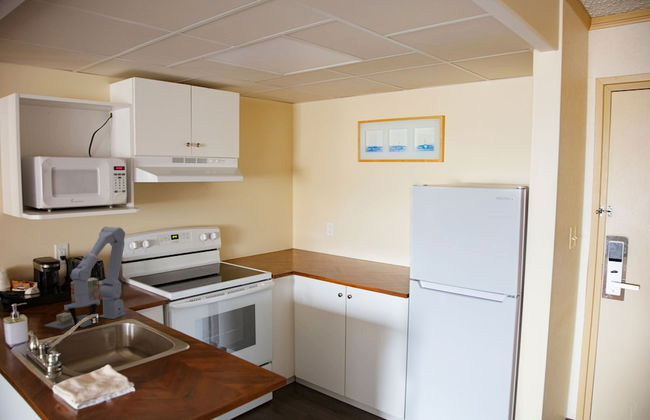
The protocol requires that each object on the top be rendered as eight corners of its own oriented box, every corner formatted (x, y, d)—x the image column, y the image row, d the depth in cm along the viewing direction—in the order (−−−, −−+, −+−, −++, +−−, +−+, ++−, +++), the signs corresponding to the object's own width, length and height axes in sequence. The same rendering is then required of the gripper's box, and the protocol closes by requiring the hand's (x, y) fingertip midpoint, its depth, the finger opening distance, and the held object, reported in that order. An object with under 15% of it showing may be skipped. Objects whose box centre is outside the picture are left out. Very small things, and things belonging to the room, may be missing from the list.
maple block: (72, 321, 219) (71, 313, 219) (63, 324, 215) (63, 316, 215) (65, 320, 221) (65, 312, 221) (56, 323, 217) (56, 315, 216)
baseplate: (85, 321, 221) (85, 320, 221) (62, 329, 210) (62, 328, 210) (67, 318, 226) (67, 317, 226) (44, 326, 215) (44, 325, 215)
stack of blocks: (109, 295, 267) (108, 274, 265) (115, 296, 263) (114, 275, 262) (71, 304, 249) (70, 281, 248) (77, 306, 246) (75, 283, 245)
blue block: (91, 324, 216) (90, 315, 216) (83, 327, 212) (82, 318, 212) (84, 322, 218) (83, 314, 217) (76, 326, 214) (75, 317, 213)
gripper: (96, 288, 221) (98, 316, 222) (62, 294, 212) (64, 323, 213) (100, 292, 215) (102, 320, 217) (64, 297, 206) (67, 327, 208)
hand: (83, 322), depth 215 cm, fingers closed on blue block, 6 cm apart
